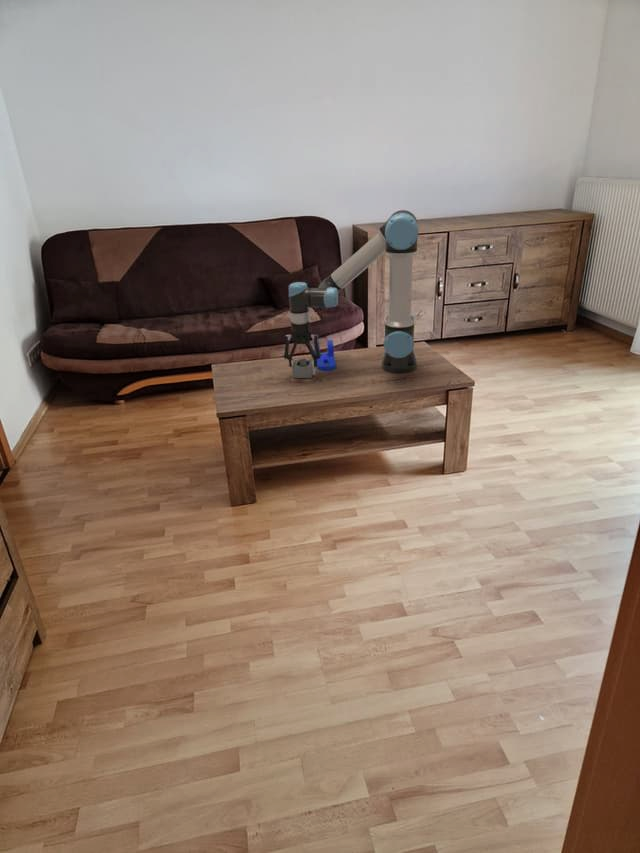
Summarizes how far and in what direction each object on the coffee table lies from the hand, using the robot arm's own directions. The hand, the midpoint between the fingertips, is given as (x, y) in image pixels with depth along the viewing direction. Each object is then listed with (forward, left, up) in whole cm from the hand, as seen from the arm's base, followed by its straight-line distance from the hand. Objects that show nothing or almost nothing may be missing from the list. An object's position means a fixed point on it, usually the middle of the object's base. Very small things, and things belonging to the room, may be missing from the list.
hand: (303, 373), depth 240 cm
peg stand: (0, 0, -2) cm, 2 cm away
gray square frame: (0, 0, 0) cm, 0 cm away
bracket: (-7, -17, -2) cm, 19 cm away
